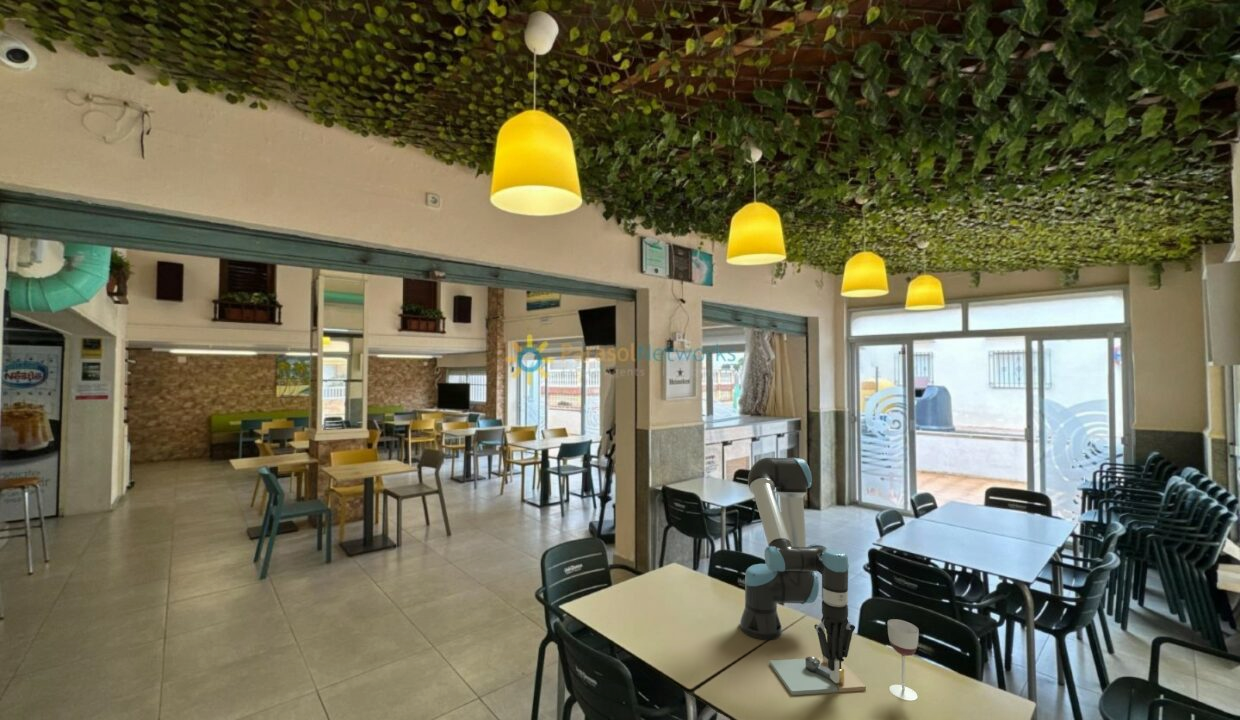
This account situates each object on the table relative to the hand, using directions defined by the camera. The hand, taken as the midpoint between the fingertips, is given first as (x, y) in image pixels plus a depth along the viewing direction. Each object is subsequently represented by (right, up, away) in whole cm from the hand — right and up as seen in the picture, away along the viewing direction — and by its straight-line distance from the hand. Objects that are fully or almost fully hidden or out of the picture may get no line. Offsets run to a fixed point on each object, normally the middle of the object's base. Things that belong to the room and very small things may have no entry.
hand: (834, 680), depth 151 cm
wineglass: (+21, -3, -1) cm, 21 cm away
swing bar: (-1, -2, +5) cm, 5 cm away
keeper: (+4, -2, +12) cm, 13 cm away
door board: (-3, -3, +6) cm, 8 cm away
